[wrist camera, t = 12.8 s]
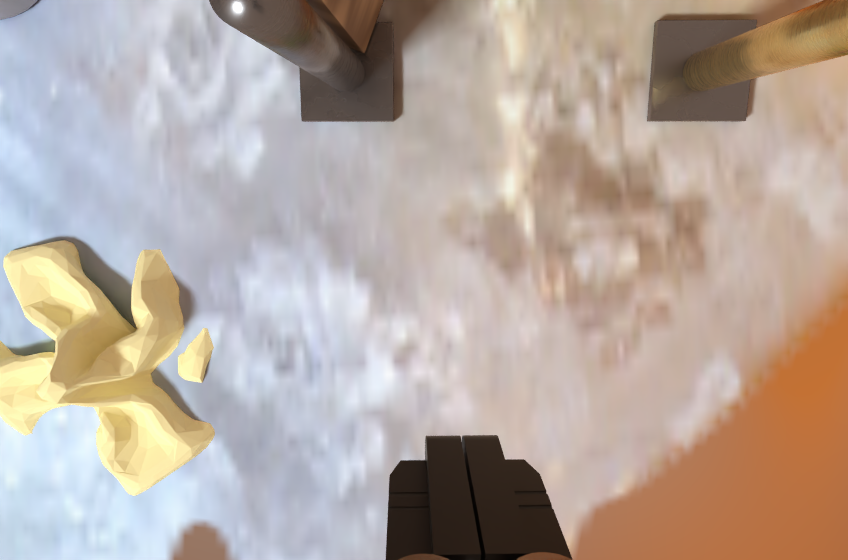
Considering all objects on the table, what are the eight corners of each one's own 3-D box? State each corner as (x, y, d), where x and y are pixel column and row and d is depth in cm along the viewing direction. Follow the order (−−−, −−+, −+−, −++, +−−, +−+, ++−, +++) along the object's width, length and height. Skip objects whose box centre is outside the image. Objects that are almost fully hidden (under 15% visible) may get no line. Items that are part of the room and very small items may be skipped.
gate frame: (303, 121, 39) (160, 87, 20) (300, 25, 38) (142, -115, 18) (741, 121, 38) (1052, 84, 18) (752, 21, 37) (1097, -130, 17)
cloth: (197, 511, 46) (159, 564, 40) (-32, 434, 46) (-105, 477, 40) (276, 245, 42) (247, 261, 36) (22, 157, 41) (-51, 157, 35)
